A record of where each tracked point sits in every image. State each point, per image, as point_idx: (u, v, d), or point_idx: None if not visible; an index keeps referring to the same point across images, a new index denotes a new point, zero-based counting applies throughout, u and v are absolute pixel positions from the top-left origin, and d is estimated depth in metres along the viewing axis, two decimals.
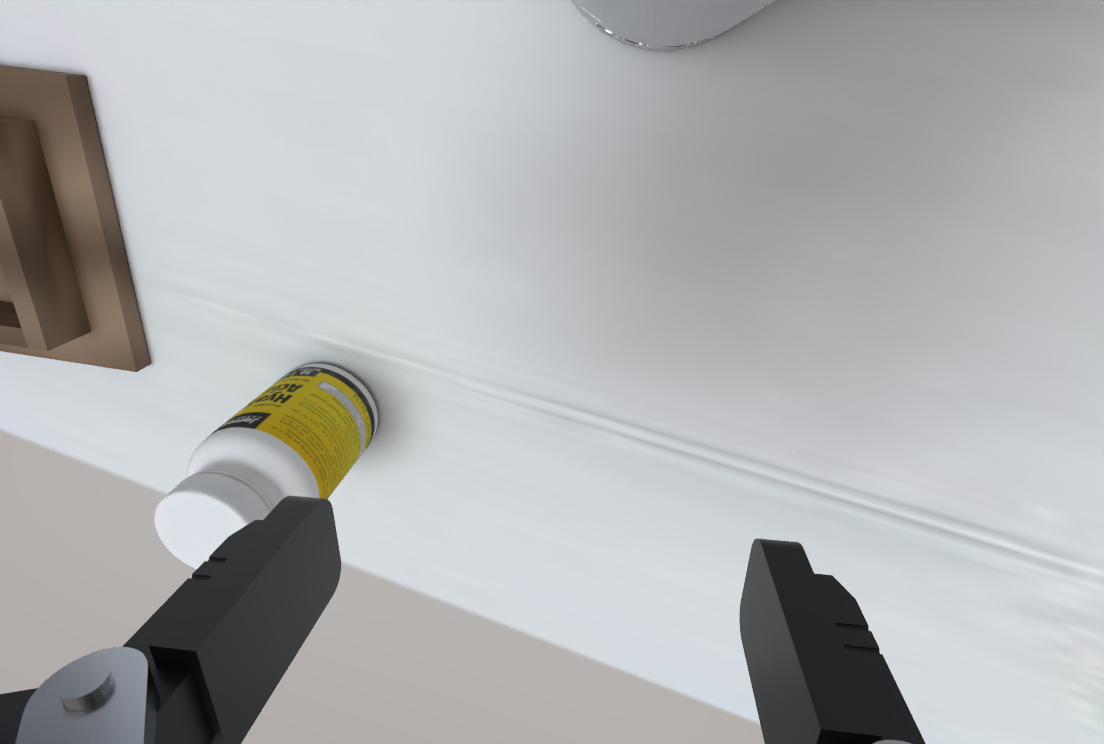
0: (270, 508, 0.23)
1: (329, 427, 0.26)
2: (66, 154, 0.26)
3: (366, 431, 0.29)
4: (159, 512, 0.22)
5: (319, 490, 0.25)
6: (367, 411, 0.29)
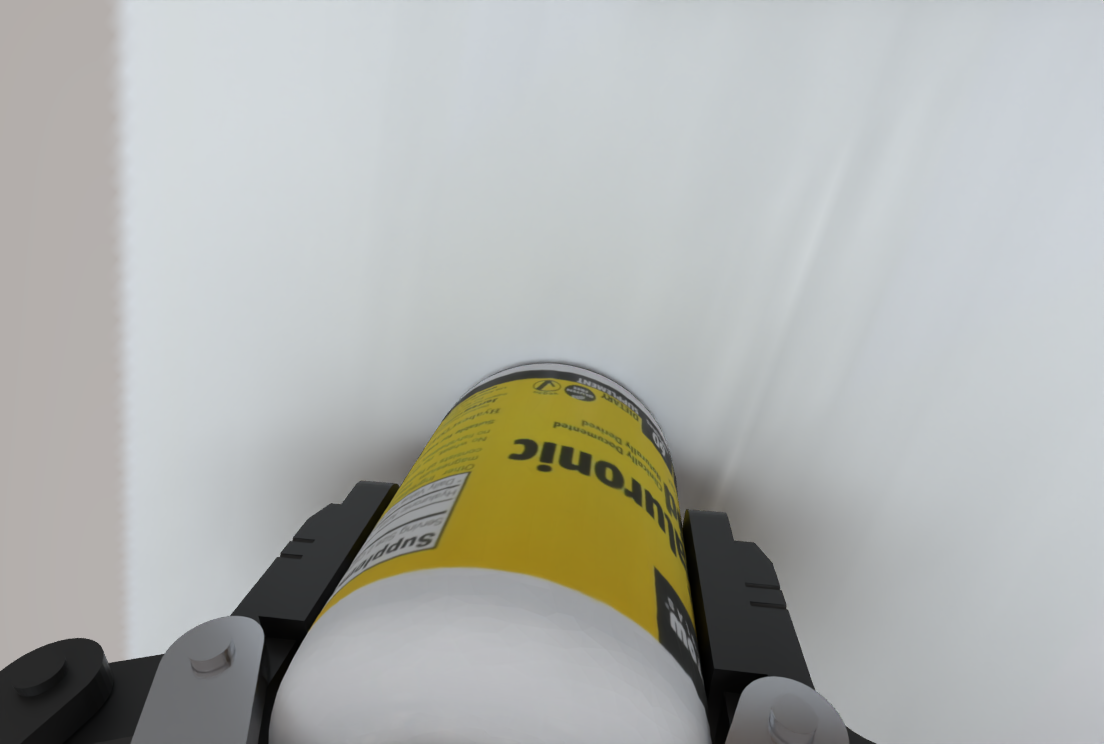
0: None
1: None
2: None
3: None
4: None
5: None
6: None
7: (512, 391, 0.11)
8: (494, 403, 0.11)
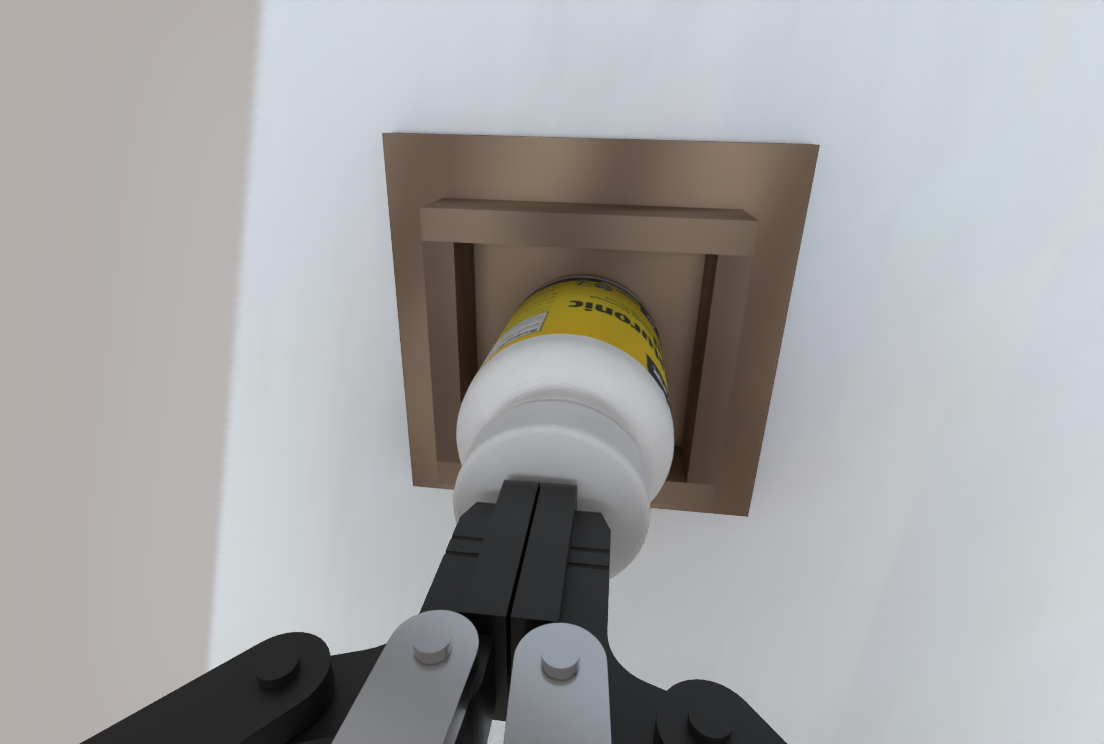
0: None
1: None
2: None
3: None
4: (591, 448, 0.11)
5: None
6: None
7: (562, 286, 0.19)
8: (552, 291, 0.18)
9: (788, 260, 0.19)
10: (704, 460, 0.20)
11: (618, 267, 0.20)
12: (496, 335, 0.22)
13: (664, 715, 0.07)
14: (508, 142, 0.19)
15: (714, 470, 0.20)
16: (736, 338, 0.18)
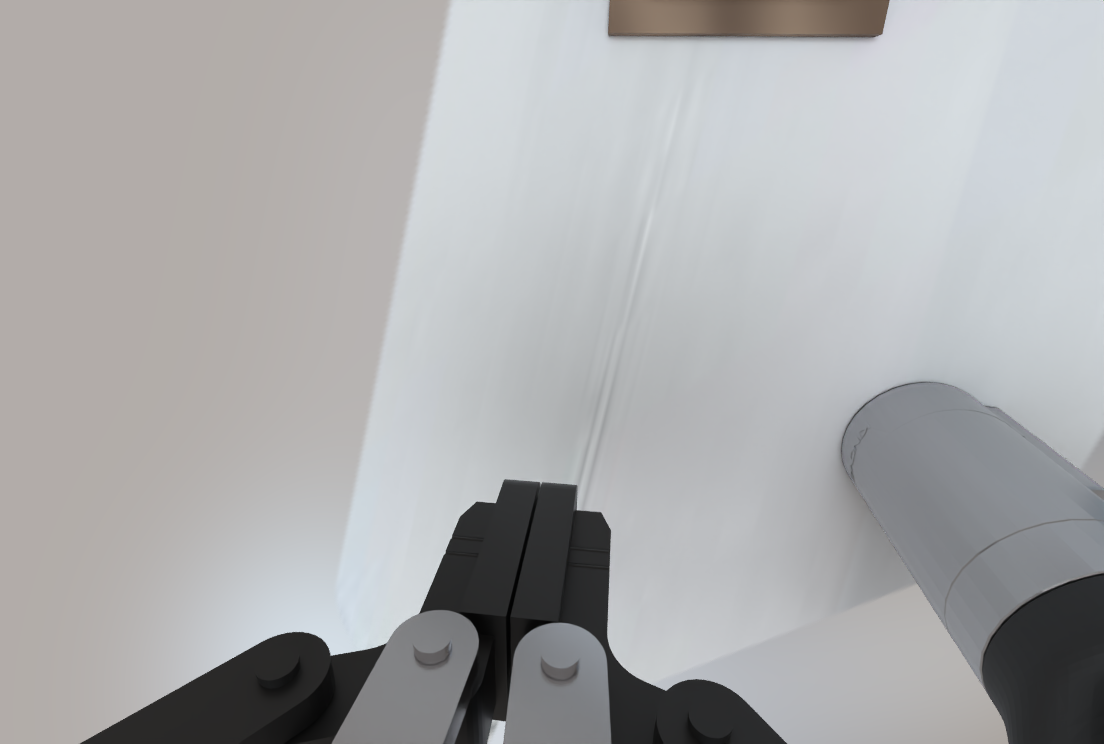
0: None
1: None
2: (819, 13, 0.29)
3: None
4: None
5: None
6: None
7: None
8: None
9: None
10: None
11: None
12: None
13: (664, 715, 0.07)
14: None
15: None
16: None
